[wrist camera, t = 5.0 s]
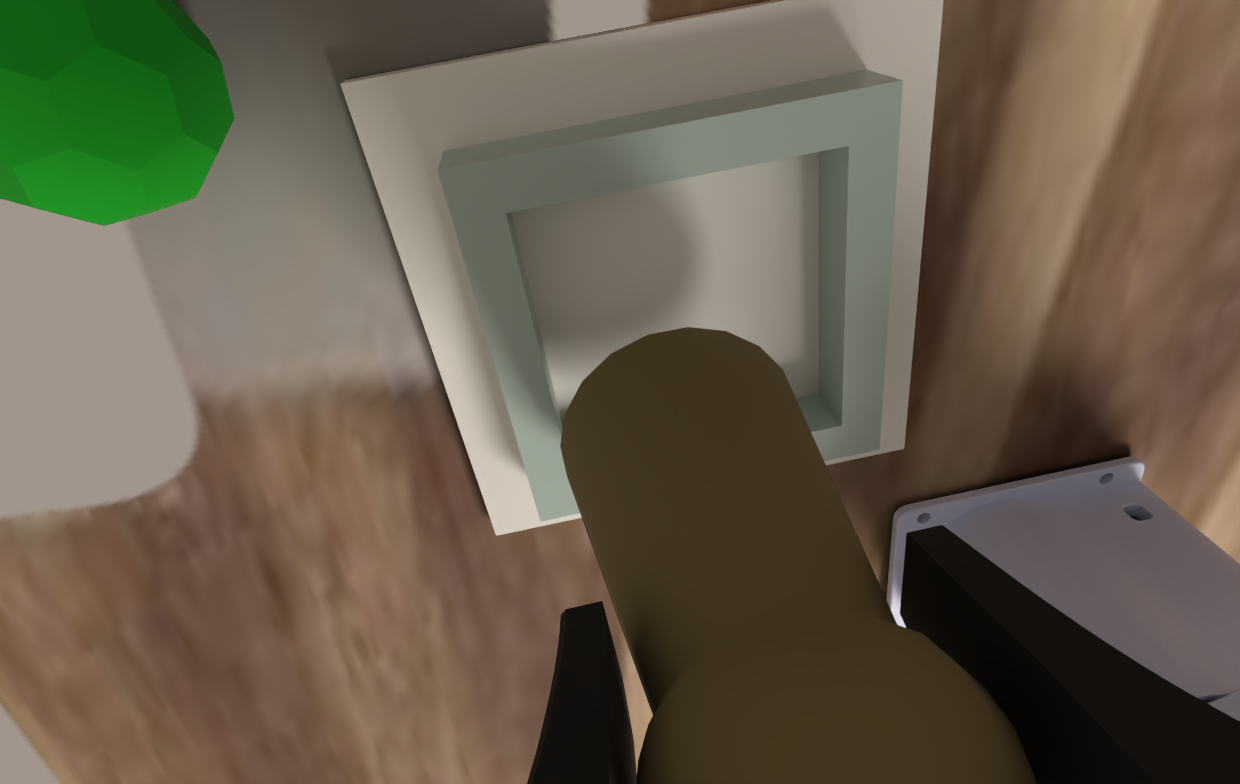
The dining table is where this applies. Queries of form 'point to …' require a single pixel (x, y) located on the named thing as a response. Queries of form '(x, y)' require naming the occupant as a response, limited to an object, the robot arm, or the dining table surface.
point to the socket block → (663, 216)
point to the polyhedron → (106, 107)
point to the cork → (757, 586)
